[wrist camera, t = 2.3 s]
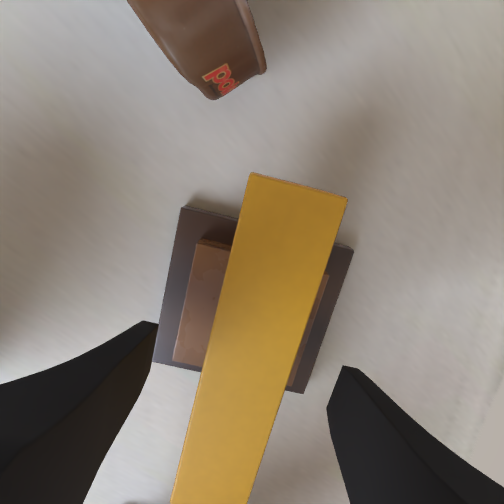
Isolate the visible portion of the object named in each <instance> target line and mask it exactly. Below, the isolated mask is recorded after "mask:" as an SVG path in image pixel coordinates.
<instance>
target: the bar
mask: <svg viewBox="0 0 504 504" xmlns="http://www.w3.org/2000/svg"><path fill="white" fill-rule="evenodd" d="M347 202H348V199H347V198H346V197H343V196H339V195H336V194H333V193H330V192H327V191H323V190H319V189H315V188H312V187H308V186H304V185H300V184H296V183H293V182H289V181H285V180H281V179H277V178H273V177H270V176H266V175H262V174H258V173H254V172H251V173H250V175H249V178H248V182H247V187H246V191H245V195H244V199H243V203H242V207H241V211H240V215H239V219H238V224H237V228H236V232H235V236H234V240H233V244H232V248H231V252H230V256H229V261H228V265H227V269H226V273H225V277H224V281H223V285H222V289H221V293H220V298H219V302H218V306H217V310H216V314H215V318H214V322H213V326H212V330H211V335H210V339H209V343H208V347H207V351H206V355H205V359H204V363H203V367H202V372H201V376H200V380H199V384H198V388H197V392H196V396H195V400H194V404H193V409H192V413H191V417H190V421H189V425H188V429H187V433H186V437H185V441H184V446H183V450H182V454H181V458H180V462H179V466H178V470H177V474H176V478H175V483H174V487H173V491H172V495H171V499H170V504H247V502H248V499H249V496H250V493H251V490H252V487H253V484H254V481H255V478H256V475H257V472H258V469H259V466H260V463H261V460H262V457H263V454H264V451H265V448H266V445H267V442H268V439H269V436H270V433H271V430H272V427H273V424H274V421H275V418H276V415H277V412H278V409H279V406H280V403H281V400H282V397H283V394H284V391H285V388H286V385H287V382H288V379H289V376H290V373H291V370H292V367H293V364H294V361H295V358H296V355H297V352H298V349H299V346H300V343H301V340H302V337H303V334H304V331H305V328H306V325H307V322H308V319H309V316H310V313H311V310H312V307H313V304H314V301H315V298H316V295H317V292H318V289H319V286H320V283H321V280H322V277H323V274H324V271H325V268H326V265H327V262H328V259H329V256H330V253H331V250H332V247H333V244H334V241H335V238H336V235H337V232H338V229H339V226H340V223H341V220H342V217H343V214H344V211H345V208H346V205H347Z"/></svg>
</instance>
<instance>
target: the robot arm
mask: <svg viewBox="0 0 504 504" xmlns="http://www.w3.org/2000/svg"><path fill="white" fill-rule="evenodd" d="M158 326H159V324H156V323H152V322H147V321H141V322H139V323H138V324H136V325H134V326H132V327H131V328H129V329H127V330H126V331H124V332H123V333H121V334H119V335H117V336H116V337H114V338H112V339H111V340H109V341H107V342H105V343H104V344H102V345H100V346H98V347H96V348H94V349H92V350H90V351H88V352H86V353H84V354H82V355H80V356H78V357H76V358H74V359H71V360H69V361H67V362H64V363H62V364H59V365H57V366H54V367H52V368H49V369H47V370H44V371H41V372H38V373H35V374H32V375H29V376H26V377H23V378H20V379H17V380H14V381H11V382H7V383H4V384H0V504H83V502H84V500H85V498H86V495H87V493H88V491H89V489H90V487H91V485H92V482H93V480H94V478H95V476H96V474H97V471H98V469H99V467H100V465H101V463H102V461H103V459H104V458H105V456H106V454H107V452H108V450H109V448H110V447H111V445H112V443H113V441H114V440H115V438H116V436H117V434H118V433H119V431H120V429H121V427H122V426H123V424H124V422H125V420H126V419H127V417H128V415H129V413H130V411H131V410H132V408H133V406H134V404H135V403H136V401H137V399H138V397H139V395H140V393H141V391H142V388H143V386H144V384H145V381H146V379H147V377H148V374H149V372H150V368H151V363H152V358H153V353H154V347H155V342H156V337H157V332H158ZM327 415H328V423H329V428H330V434H331V438H332V442H333V445H334V449H335V452H336V456H337V459H338V463H339V466H340V470H341V473H342V476H343V480H344V483H345V487H346V490H347V493H348V497H349V500H350V504H504V487H502V486H501V485H499V484H498V483H496V482H495V481H493V480H492V479H490V478H489V477H487V476H486V475H485V474H483V473H482V472H480V471H479V470H477V469H476V468H474V467H473V466H471V465H470V464H469V463H467V462H466V461H464V460H463V459H462V458H460V457H459V456H458V455H456V454H455V453H454V452H452V451H451V450H450V449H449V448H447V447H446V446H445V445H443V444H442V443H441V442H439V441H438V440H437V439H436V438H435V437H433V436H432V435H431V434H430V433H428V432H427V431H426V430H425V429H424V428H423V427H422V426H420V425H419V424H418V423H417V422H416V421H415V420H413V419H412V418H411V417H410V416H409V415H408V414H407V413H406V412H405V411H403V410H402V409H401V408H400V407H399V406H398V405H397V404H396V403H395V402H394V401H393V400H392V399H391V398H390V397H389V396H387V395H386V394H385V393H384V392H383V391H382V390H381V389H380V388H379V387H378V386H377V385H376V384H375V383H374V382H373V381H372V380H371V379H369V378H368V377H367V376H366V375H365V374H364V373H363V372H361V371H360V370H359V369H357V368H353V367H348V366H344V365H343V366H342V369H341V371H340V374H339V377H338V379H337V382H336V384H335V387H334V390H333V392H332V395H331V397H330V400H329V403H328V405H327Z"/></svg>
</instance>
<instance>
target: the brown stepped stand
mask: <svg viewBox="0 0 504 504" xmlns="http://www.w3.org/2000/svg"><path fill="white" fill-rule="evenodd" d="M237 224H238V219H236V218H232V217H228V216H224V215H220V214H216V213H212V212H208V211H204V210H200V209H196V208H192V207H188V206H183V207H181V210H180V215H179V220H178V226H177V231H176V236H175V241H174V247H173V252H172V257H171V262H170V267H169V273H168V278H167V283H166V288H165V294H164V299H163V304H162V309H161V315H160V320H159V326H158V332H157V337H156V342H155V347H154V353H153V358H152V362H156V363H161V364H165V365H170V366H175V367H179V368H184V369H189V370H193V371H198V372H202V367H203V363H204V359H205V355H206V351H207V347H208V343H209V339H210V335H211V330H212V326H213V322H214V318H215V314H216V310H217V306H218V302H219V298H220V293H221V289H222V285H223V281H224V277H225V273H226V269H227V265H228V261H229V256H230V252H231V248H232V244H233V240H234V236H235V232H236V228H237ZM353 253H354V250H353V249H351V248H350V247H348V246H344V245H340V244H336V243H334V244H333V247H332V250H331V253H330V256H329V259H328V262H327V265H326V268H325V271H324V274H323V277H322V280H321V283H320V286H319V289H318V292H317V295H316V298H315V301H314V304H313V307H312V310H311V313H310V316H309V319H308V322H307V325H306V328H305V331H304V334H303V337H302V340H301V343H300V346H299V349H298V352H297V355H296V358H295V361H294V364H293V367H292V370H291V373H290V376H289V379H288V382H287V385H286V388H285V390H286V391H291V392H296V393H300V394H304V391H305V389H306V386H307V383H308V380H309V377H310V375H311V372H312V369H313V366H314V363H315V360H316V358H317V355H318V352H319V349H320V346H321V343H322V341H323V338H324V335H325V332H326V329H327V327H328V324H329V321H330V318H331V315H332V312H333V310H334V307H335V304H336V301H337V298H338V295H339V293H340V290H341V287H342V284H343V281H344V278H345V276H346V273H347V270H348V267H349V264H350V262H351V259H352V256H353Z"/></svg>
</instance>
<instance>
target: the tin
mask: <svg viewBox="0 0 504 504" xmlns="http://www.w3.org/2000/svg"><path fill="white" fill-rule="evenodd" d="M127 1H128V3H129V4H130V6H131V7H132V9H133V10H134V12H135V13H136V15H137V16H138V17H139V19H140V20H141V22H142V23H143V25H144V26H145V28H146V29H147V31H148V32H149V33H150V35H151V36H152V38H153V39H154V40H155V42H156V43H157V45H158V46H159V47H160V49H161V50H162V51H163V53H164V54H165V56H166V57H167V58H168V59H169V61H170V62H171V63H172V64H173V66H174V67H175V68H176V69H177V70H178V72H179V73H180V74H181V75H182V76H183V77H184V78H185V79H186V80H187V81H188V82H189V83H191V84H193V85H194V86H196V87H197V88H198V89H199V90H200V91H201V92H202V93H203V94H204V95H205V96H206V97H207V98H208V99H210V100H217V99H219V98H220V97H222V96H224V95H226V94H227V93H229V92H230V91H232V90H233V89H235V88H236V87H238V86H239V85H240V84H242V83H243V82H245V81H246V80H248V79H250V78H251V77H253V76H254V75H256V74H264V73H265V71H266V69H267V67H266V61H265V57H264V51H263V48H262V45H261V42H260V39H259V35H258V31H257V29H256V26H255V23H254V19H253V16H252V14H251V11H250V9H249V5H248V2H247V0H127Z"/></svg>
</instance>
